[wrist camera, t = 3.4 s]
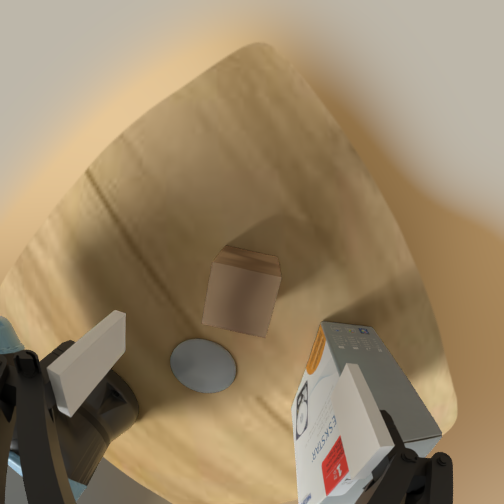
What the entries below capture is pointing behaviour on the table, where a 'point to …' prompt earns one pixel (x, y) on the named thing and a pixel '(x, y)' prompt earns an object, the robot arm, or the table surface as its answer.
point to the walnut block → (242, 291)
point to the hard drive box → (323, 417)
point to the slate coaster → (203, 365)
